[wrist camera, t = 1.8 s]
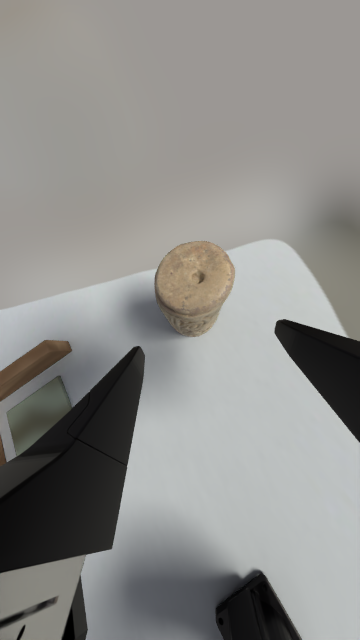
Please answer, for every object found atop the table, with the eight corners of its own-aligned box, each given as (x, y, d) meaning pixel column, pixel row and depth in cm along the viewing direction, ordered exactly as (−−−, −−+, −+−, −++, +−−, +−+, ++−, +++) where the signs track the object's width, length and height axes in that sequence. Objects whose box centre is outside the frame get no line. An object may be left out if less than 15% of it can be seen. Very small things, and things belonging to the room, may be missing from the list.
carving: (223, 302, 21) (257, 242, 9) (204, 346, 20) (213, 342, 8) (187, 288, 22) (175, 220, 10) (167, 328, 21) (129, 303, 9)
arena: (115, 454, 18) (96, 479, 15) (7, 533, 18) (-38, 577, 14) (68, 341, 23) (45, 340, 19) (-19, 401, 22) (-57, 411, 19)
